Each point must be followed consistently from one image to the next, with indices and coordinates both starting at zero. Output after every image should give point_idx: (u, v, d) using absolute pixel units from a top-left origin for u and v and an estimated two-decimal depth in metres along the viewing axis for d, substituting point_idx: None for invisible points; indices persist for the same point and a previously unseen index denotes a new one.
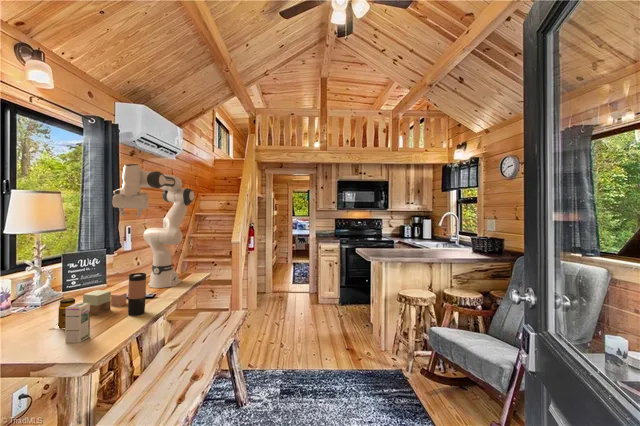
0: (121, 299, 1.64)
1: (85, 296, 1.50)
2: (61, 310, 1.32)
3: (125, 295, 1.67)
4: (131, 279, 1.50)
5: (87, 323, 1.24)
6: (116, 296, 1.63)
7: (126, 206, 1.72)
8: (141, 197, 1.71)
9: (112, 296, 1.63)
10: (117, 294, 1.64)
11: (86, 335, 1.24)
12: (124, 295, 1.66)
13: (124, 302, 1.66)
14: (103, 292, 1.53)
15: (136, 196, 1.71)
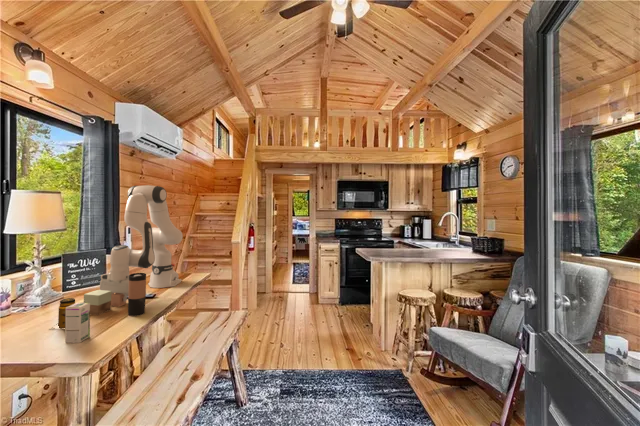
0: (121, 299, 1.64)
1: (85, 296, 1.50)
2: (61, 310, 1.32)
3: None
4: (131, 279, 1.50)
5: (87, 323, 1.24)
6: (115, 296, 1.63)
7: (114, 291, 1.63)
8: None
9: (112, 296, 1.63)
10: (117, 294, 1.64)
11: (86, 335, 1.24)
12: None
13: (124, 302, 1.66)
14: (104, 292, 1.54)
15: (124, 281, 1.63)
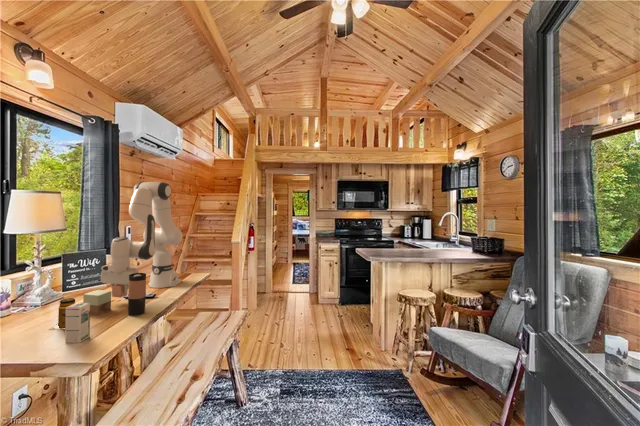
0: (122, 290, 1.64)
1: (85, 296, 1.50)
2: (61, 310, 1.32)
3: None
4: (131, 279, 1.50)
5: (87, 323, 1.24)
6: (117, 287, 1.63)
7: (115, 282, 1.64)
8: None
9: (113, 287, 1.63)
10: (118, 285, 1.64)
11: (86, 335, 1.24)
12: None
13: (125, 293, 1.67)
14: (104, 292, 1.54)
15: (125, 272, 1.63)
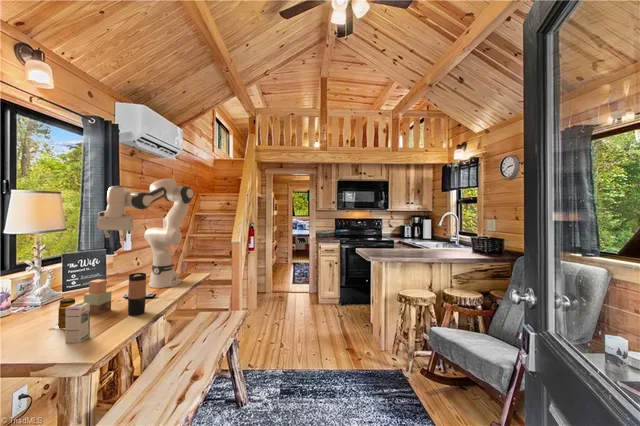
0: (99, 286, 1.52)
1: (85, 296, 1.50)
2: (61, 310, 1.32)
3: (105, 282, 1.55)
4: (131, 279, 1.50)
5: (87, 323, 1.24)
6: (94, 283, 1.51)
7: (111, 228, 1.72)
8: (125, 220, 1.71)
9: (90, 283, 1.51)
10: (96, 281, 1.52)
11: (86, 335, 1.24)
12: (103, 282, 1.54)
13: (103, 290, 1.54)
14: (104, 292, 1.54)
15: (121, 218, 1.71)
